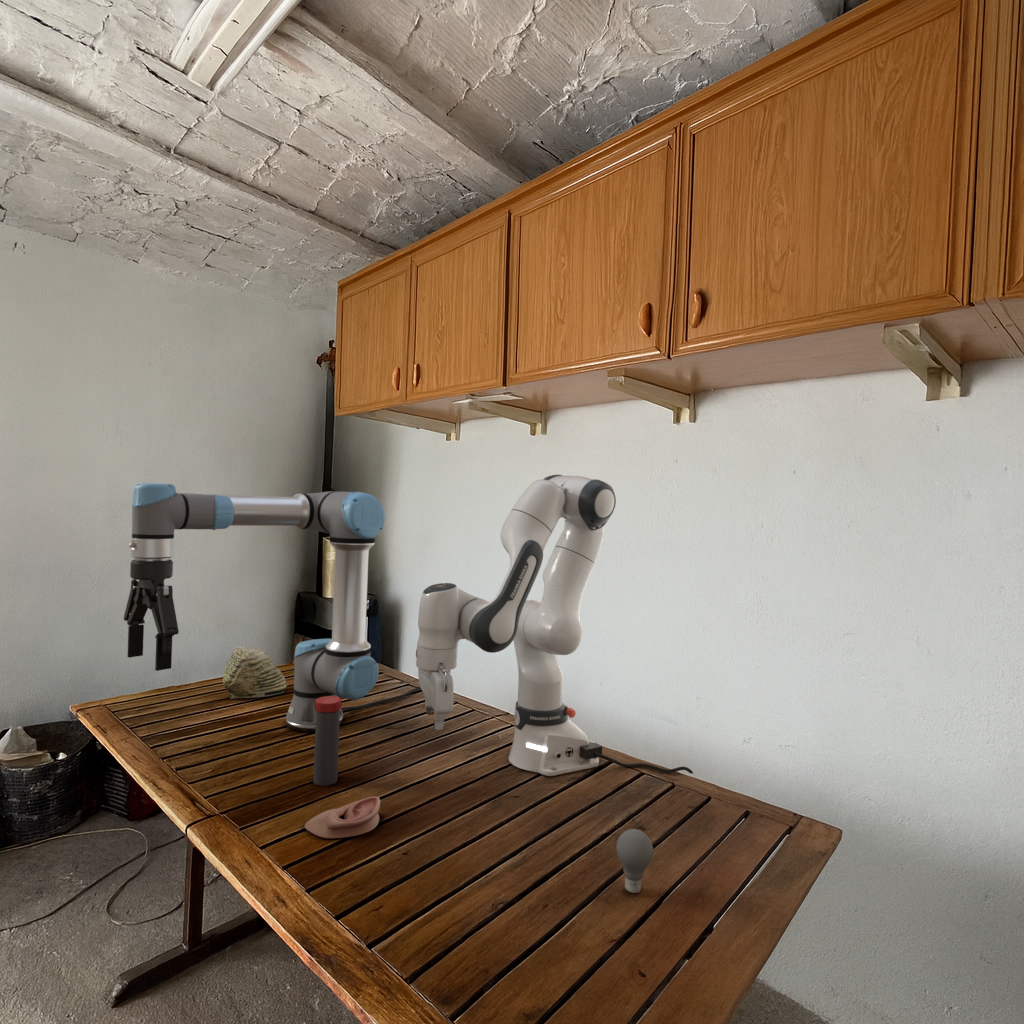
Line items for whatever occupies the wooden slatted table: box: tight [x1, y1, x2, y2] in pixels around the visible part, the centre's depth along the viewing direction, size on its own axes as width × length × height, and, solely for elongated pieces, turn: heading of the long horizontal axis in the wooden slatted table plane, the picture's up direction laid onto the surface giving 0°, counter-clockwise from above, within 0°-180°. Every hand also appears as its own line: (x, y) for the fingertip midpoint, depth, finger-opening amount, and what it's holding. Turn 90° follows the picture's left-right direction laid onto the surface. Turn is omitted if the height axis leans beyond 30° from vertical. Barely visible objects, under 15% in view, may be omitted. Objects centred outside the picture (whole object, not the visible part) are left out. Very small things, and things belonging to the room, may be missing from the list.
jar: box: [312, 710, 341, 787], centre depth 141 cm, size 5×5×18 cm
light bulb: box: [615, 828, 654, 894], centre depth 106 cm, size 6×6×10 cm
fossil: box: [222, 646, 288, 699], centre depth 198 cm, size 9×18×15 cm, turn 132°
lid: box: [315, 696, 343, 713], centre depth 141 cm, size 6×6×2 cm
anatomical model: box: [304, 796, 381, 839], centre depth 123 cm, size 13×4×12 cm
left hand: (148, 662), depth 129 cm, fingers open, 13 cm apart
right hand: (434, 721), depth 138 cm, fingers open, 8 cm apart
